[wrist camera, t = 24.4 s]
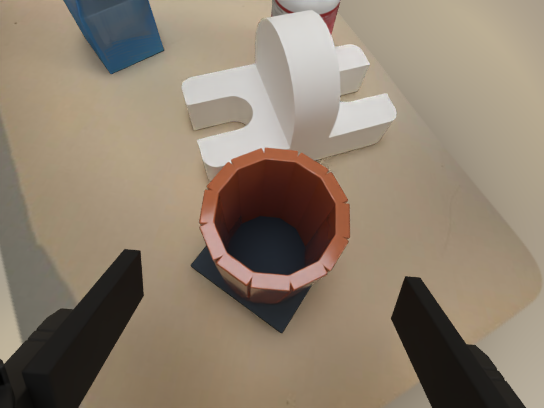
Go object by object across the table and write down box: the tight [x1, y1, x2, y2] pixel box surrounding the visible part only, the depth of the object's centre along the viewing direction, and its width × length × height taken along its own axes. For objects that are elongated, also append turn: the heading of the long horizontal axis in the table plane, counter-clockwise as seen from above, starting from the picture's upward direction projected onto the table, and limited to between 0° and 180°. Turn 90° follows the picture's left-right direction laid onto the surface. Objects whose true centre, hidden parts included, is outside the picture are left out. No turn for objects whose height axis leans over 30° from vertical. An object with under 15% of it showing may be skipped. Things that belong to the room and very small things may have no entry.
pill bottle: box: [271, 0, 340, 34], centre depth 30 cm, size 6×6×11 cm
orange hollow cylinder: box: [199, 148, 350, 304], centre depth 21 cm, size 8×8×10 cm
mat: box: [191, 216, 312, 333], centre depth 26 cm, size 9×9×1 cm
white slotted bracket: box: [182, 10, 397, 182], centre depth 26 cm, size 10×18×11 cm, turn 109°
